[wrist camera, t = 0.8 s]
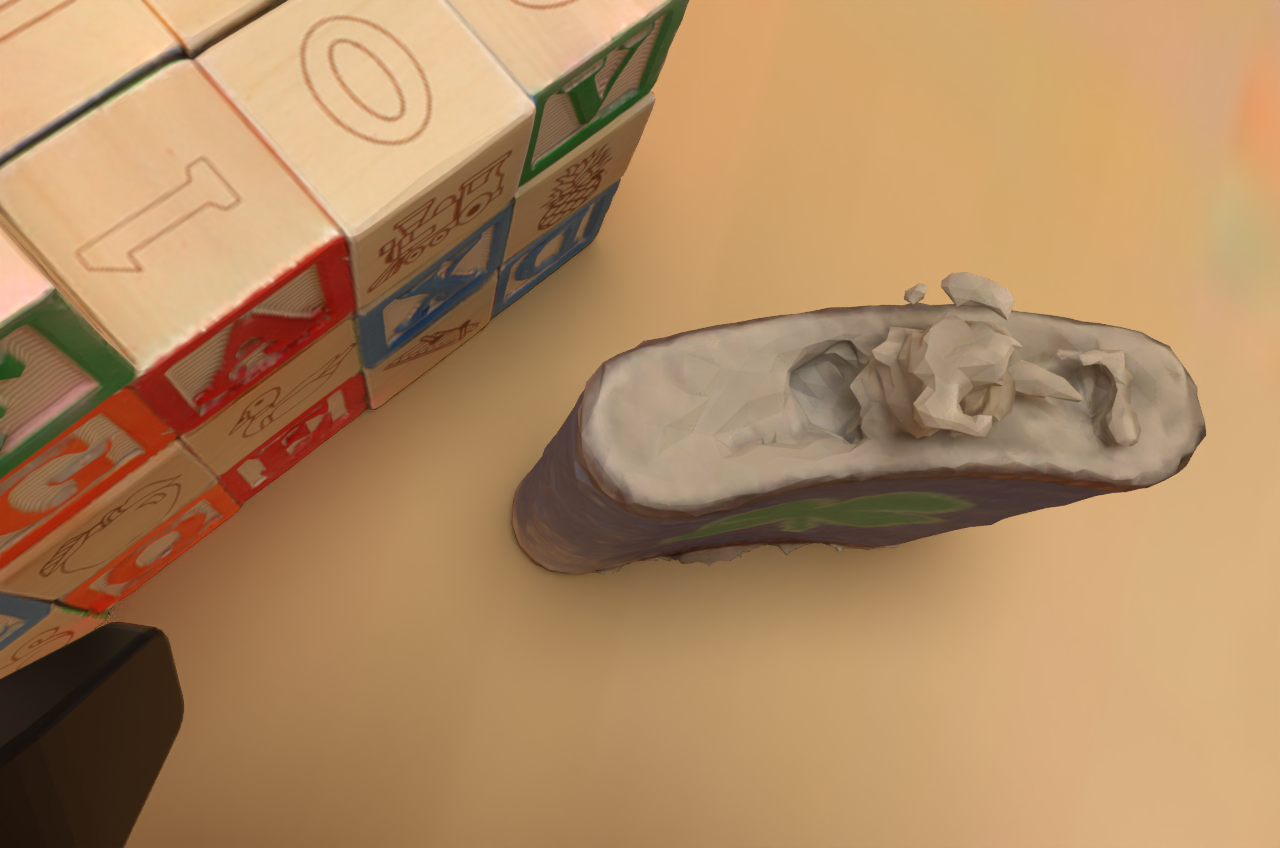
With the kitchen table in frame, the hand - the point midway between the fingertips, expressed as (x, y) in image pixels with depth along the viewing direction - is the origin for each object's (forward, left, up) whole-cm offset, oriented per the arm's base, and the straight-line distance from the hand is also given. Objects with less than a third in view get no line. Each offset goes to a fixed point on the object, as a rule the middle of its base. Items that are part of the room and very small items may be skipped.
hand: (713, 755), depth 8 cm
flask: (+4, -4, -14) cm, 15 cm away
